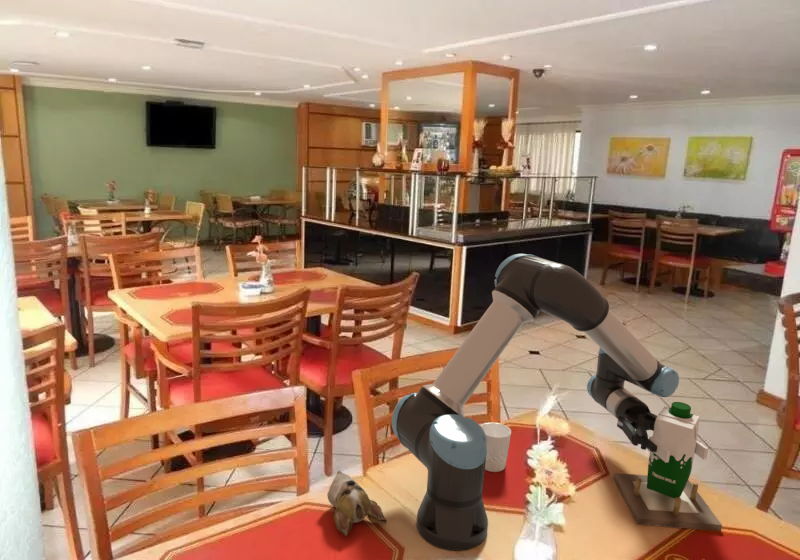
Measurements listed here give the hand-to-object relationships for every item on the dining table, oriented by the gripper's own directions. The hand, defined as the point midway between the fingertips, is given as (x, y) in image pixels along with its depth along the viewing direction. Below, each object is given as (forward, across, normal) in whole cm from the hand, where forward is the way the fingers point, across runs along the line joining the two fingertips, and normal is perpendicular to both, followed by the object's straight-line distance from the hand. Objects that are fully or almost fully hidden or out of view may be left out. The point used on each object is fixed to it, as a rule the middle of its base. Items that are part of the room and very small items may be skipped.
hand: (687, 455), depth 127 cm
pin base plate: (-5, 0, -15) cm, 16 cm away
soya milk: (-5, 0, -11) cm, 12 cm away
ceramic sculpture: (-9, +73, -15) cm, 75 cm away
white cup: (-25, +35, -15) cm, 46 cm away
